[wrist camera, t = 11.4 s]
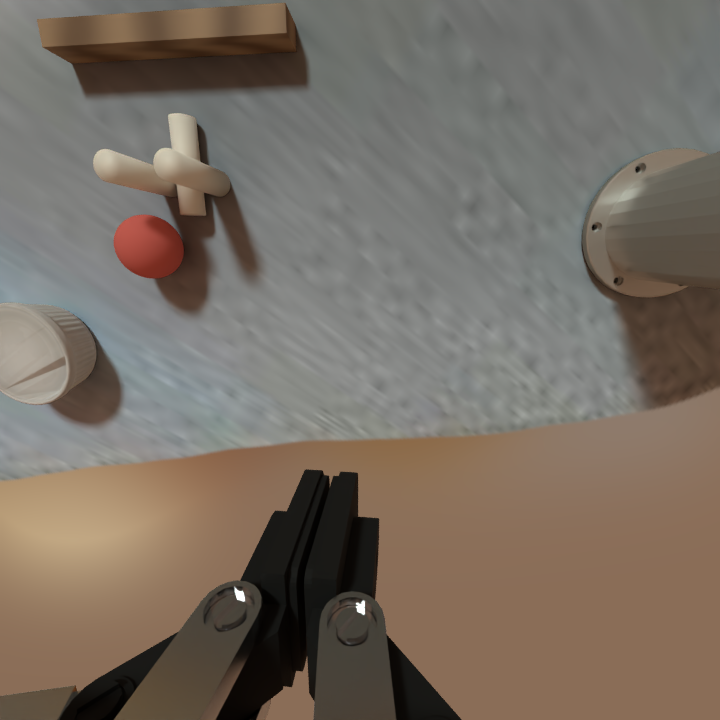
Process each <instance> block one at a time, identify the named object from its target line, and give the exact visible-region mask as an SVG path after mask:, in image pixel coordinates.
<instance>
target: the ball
mask: <svg viewBox="0 0 720 720" xmlns="http://www.w3.org/2000/svg"><path fill="white" fill-rule="evenodd" d="M114 248H115V252H116V254H117V256H118V258H119V260H120V261H121V263H122V264H123V265H124V266H125V267H126V268H127V269H129V270H130V271H131V272H133V273H135V274H137V275H139V276H142V277H146V278H162V277H165V276H168V275H170V274H172V273H173V272H174V271H175V270H177V268H178V267H179V266H180V264H181V262H182V260H183V255H184V247H183V243H182V240H181V237H180V236H179V234H178V232H177V231H176V230H175V229H174V228H173V227H172V226H171V225H170V224H169V223H168V222H166V221H165V220H163V219H161V218H158V217H155V216H151V215H136V216H133V217H130V218H128V219H126V220H125V221H124V222H122V223H121V224H120V226H119V227H118V228H117V230H116V233H115V236H114Z"/></svg>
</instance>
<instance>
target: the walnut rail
mask: <svg viewBox="0 0 720 720" xmlns="http://www.w3.org/2000/svg"><path fill="white" fill-rule="evenodd" d="M37 22H38V27H39V32H40V37H41V42H42V47H43V48H45V49H47V50H49V51H50V52H52V53H54V54H56V55H57V56H59V57H61V58H63V59H64V60H66V61H68V62H70V63H71V64H74V63H93V62H112V61H131V60H150V59H169V58H188V57H207V56H226V55H245V54H263V53H282V52H296V28H295V23H294V21H293V18H292V16H291V14H290V12H289V10H288V8H287V6H286V3H275V4H260V5H245V6H230V7H215V8H200V9H185V10H170V11H155V12H140V13H125V14H109V15H94V16H79V17H64V18H49V19H37Z"/></svg>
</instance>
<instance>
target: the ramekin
mask: <svg viewBox="0 0 720 720" xmlns="http://www.w3.org/2000/svg"><path fill="white" fill-rule="evenodd" d="M96 357H97V351H96V345H95V341H94V339H93V336H92V334H91V333H90V331H89V329H88V328H87V327H86V325H85V324H84V323H83V322H82V321H81V320H80V319H79V318H77V317H76V316H75V315H73V314H72V313H70V312H69V311H66V310H65V309H62V308H60V307H56V306H52V305H33V304H22V303H1V304H0V391H1V392H3V393H4V394H5V395H7V396H9V397H11V398H13V399H15V400H17V401H20V402H23V403H26V404H32V405H43V404H48V403H51V402H54V401H56V400H58V399H60V398H62V397H63V396H64V395H66V394H67V393H68V392H69V390H70V389H72V388H74V387H75V386H76V385H78V384H79V383H81V382H82V381H84V380H85V379H86V378H87V377H88V376H89V375H90V374H91V372H92V371H93V368H94V366H95V362H96Z"/></svg>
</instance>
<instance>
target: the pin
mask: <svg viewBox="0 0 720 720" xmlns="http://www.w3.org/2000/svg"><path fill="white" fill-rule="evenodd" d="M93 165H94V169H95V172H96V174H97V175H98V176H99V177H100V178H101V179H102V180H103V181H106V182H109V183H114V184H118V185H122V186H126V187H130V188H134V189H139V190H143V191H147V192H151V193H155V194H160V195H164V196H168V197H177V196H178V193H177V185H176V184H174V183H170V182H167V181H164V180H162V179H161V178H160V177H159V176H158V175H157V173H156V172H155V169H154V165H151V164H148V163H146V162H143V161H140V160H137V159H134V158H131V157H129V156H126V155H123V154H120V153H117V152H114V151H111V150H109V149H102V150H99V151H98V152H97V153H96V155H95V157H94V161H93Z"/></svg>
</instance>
